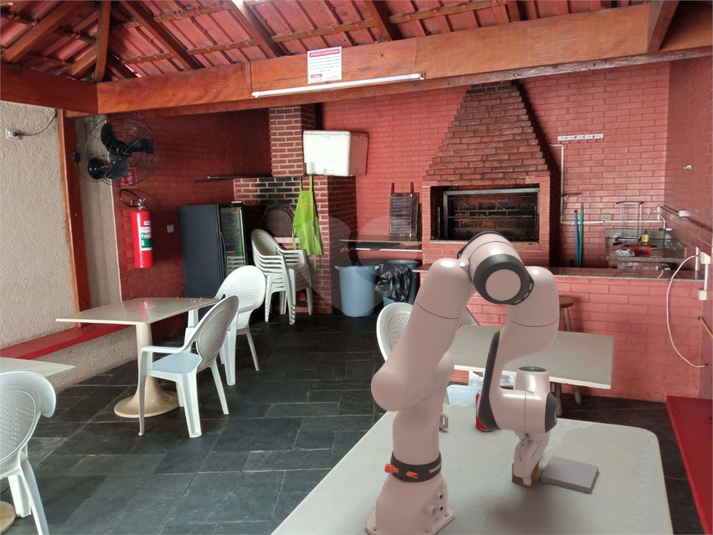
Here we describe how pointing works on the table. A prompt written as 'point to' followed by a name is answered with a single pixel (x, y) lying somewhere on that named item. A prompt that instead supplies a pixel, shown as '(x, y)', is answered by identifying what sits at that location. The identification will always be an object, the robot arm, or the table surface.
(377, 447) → the table surface
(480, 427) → the beverage can
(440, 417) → the mug
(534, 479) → the walnut brick
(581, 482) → the base plate
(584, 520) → the table surface
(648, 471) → the table surface
